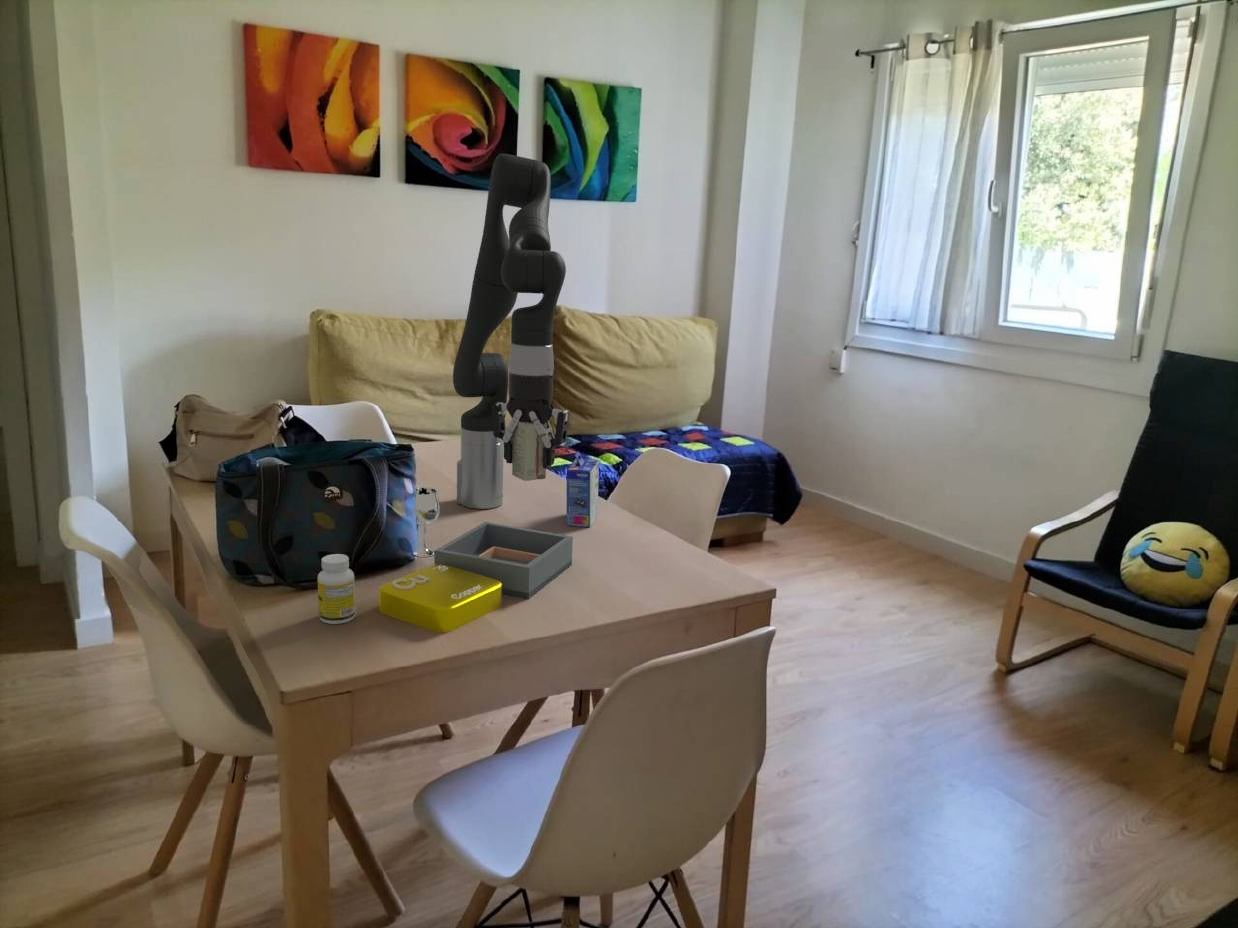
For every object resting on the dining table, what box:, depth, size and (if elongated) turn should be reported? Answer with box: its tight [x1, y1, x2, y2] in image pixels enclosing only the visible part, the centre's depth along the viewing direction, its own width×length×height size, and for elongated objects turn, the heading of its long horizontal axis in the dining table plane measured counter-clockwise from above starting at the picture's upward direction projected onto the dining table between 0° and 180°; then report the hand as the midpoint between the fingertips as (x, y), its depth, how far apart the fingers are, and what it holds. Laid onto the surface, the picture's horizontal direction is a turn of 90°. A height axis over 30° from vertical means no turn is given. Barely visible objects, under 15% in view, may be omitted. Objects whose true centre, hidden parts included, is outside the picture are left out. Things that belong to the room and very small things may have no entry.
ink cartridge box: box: [566, 451, 600, 528], centre depth 195 cm, size 10×6×14 cm, turn 172°
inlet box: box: [433, 521, 574, 600], centre depth 164 cm, size 18×18×6 cm
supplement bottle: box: [317, 553, 356, 625], centre depth 142 cm, size 5×5×10 cm
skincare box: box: [511, 422, 547, 482], centre depth 161 cm, size 5×4×10 cm
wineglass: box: [415, 487, 441, 558], centre depth 171 cm, size 6×6×12 cm
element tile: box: [378, 563, 503, 634], centre depth 148 cm, size 15×15×5 cm
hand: (528, 464), depth 162 cm, fingers closed on skincare box, 6 cm apart
